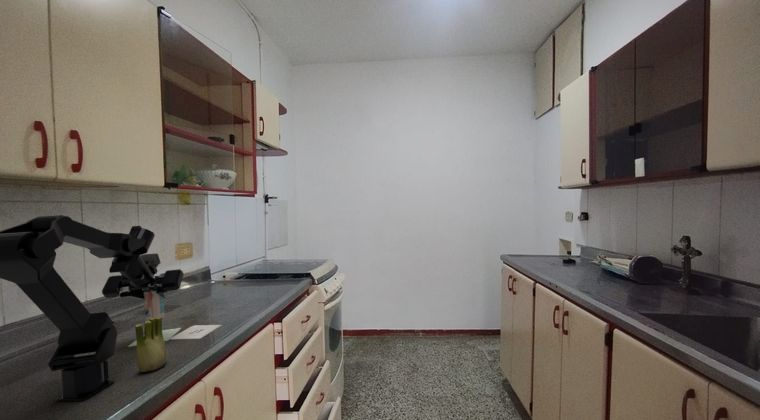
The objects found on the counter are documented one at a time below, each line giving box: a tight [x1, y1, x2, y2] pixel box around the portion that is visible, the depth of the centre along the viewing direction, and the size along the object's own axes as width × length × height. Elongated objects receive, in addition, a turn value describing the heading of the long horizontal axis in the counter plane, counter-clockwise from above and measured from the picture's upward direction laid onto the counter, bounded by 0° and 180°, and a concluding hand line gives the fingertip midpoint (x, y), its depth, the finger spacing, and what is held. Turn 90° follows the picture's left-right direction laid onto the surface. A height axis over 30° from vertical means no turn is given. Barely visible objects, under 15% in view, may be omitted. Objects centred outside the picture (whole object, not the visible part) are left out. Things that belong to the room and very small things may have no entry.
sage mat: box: [127, 327, 182, 348], centre depth 91 cm, size 10×10×1 cm
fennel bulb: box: [134, 317, 167, 373], centre depth 71 cm, size 6×5×12 cm
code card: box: [168, 324, 222, 341], centre depth 93 cm, size 10×10×1 cm
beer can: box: [143, 284, 165, 322], centre depth 91 cm, size 5×5×12 cm
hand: (156, 297), depth 92 cm, fingers closed on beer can, 5 cm apart
